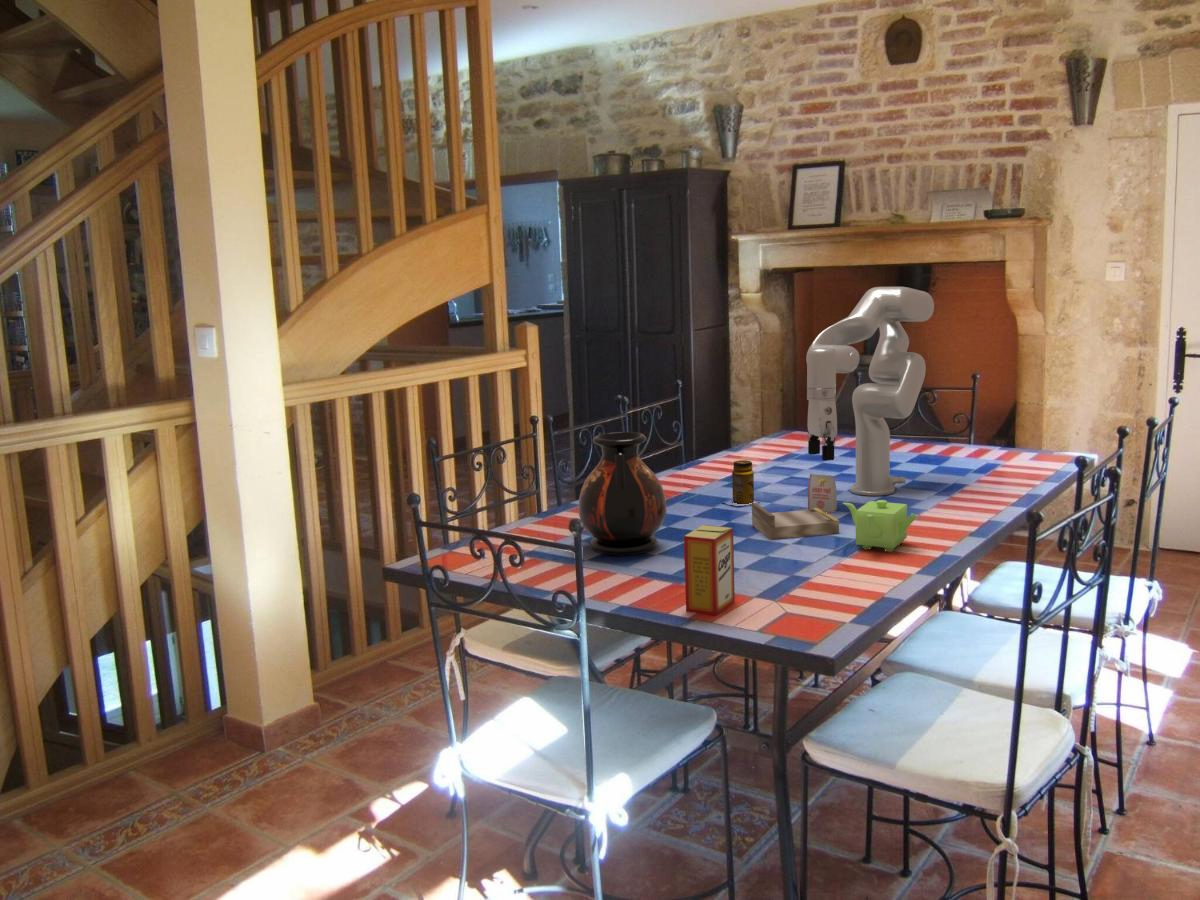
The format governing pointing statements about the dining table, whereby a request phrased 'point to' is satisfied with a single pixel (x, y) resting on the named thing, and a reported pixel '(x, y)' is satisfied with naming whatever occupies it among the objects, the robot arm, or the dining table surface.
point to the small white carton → (822, 493)
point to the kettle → (881, 524)
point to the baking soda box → (709, 569)
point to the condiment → (743, 482)
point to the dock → (793, 523)
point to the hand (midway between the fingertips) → (820, 457)
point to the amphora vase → (622, 498)
